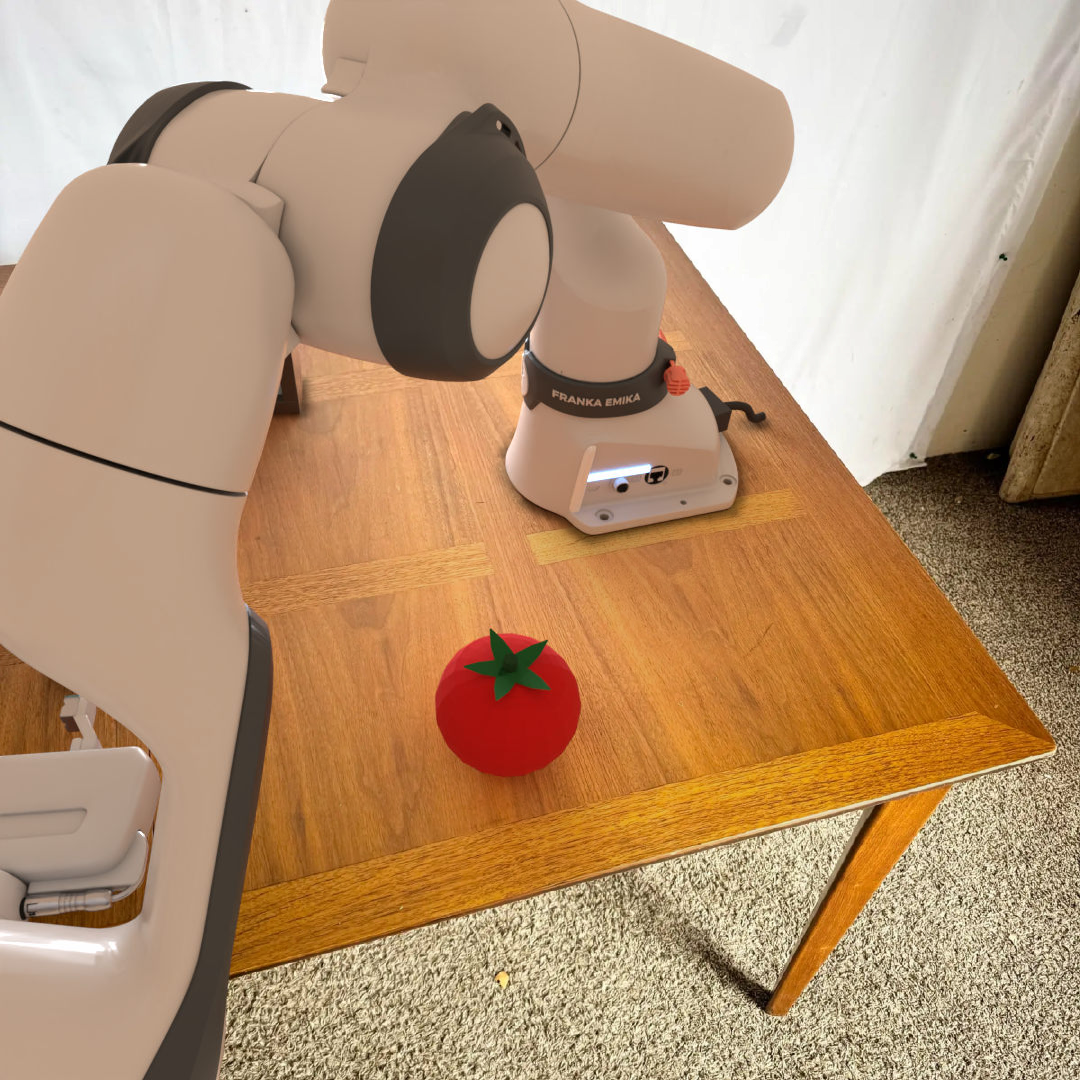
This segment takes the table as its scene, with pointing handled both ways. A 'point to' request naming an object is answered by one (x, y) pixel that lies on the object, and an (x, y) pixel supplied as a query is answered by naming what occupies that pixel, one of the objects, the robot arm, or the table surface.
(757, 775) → the table surface
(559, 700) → the tomato
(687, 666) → the table surface
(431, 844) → the table surface
